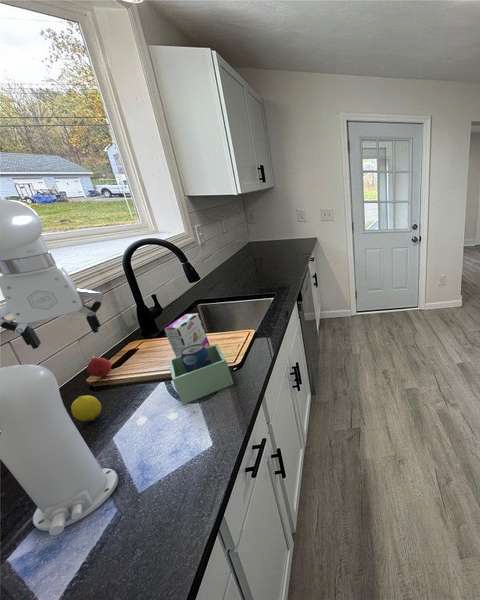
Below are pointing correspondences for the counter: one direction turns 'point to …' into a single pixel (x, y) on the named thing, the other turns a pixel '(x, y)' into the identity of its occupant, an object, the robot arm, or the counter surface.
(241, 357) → the counter surface
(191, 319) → the candy bar box
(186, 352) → the soda can
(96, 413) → the lemon
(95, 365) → the onion
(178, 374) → the bin
